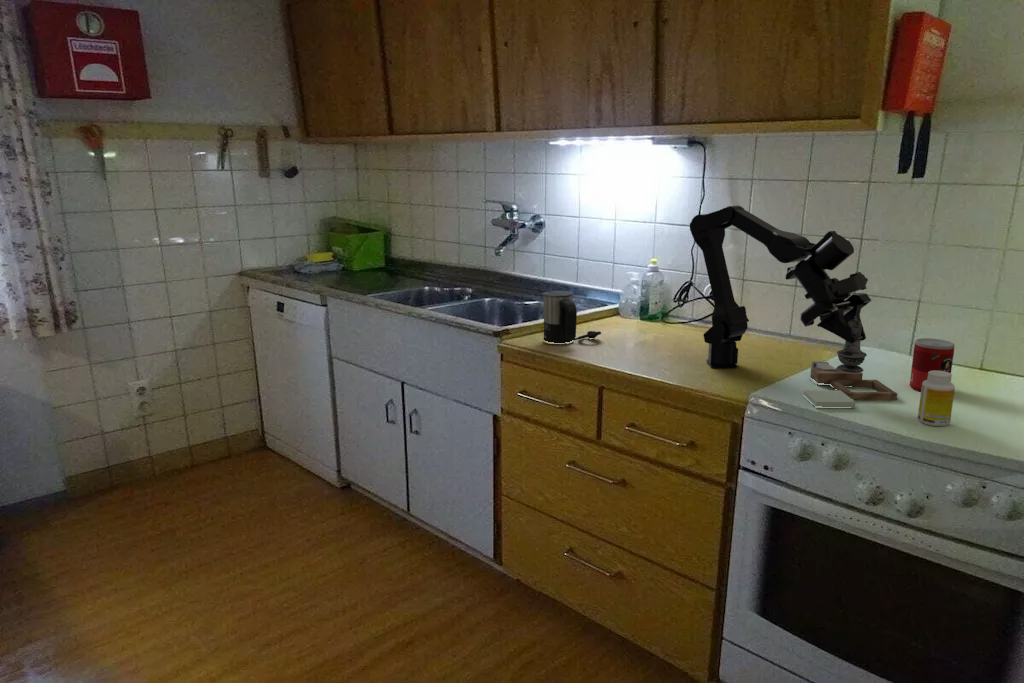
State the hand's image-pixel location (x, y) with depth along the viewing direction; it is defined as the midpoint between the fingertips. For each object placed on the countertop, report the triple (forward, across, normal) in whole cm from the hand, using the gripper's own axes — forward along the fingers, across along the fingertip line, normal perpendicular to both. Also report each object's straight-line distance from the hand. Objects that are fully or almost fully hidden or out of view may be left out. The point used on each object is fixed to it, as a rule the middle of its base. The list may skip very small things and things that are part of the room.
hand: (859, 340), depth 152 cm
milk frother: (-46, -14, +66) cm, 82 cm away
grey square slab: (+8, -6, +11) cm, 15 cm away
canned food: (+14, +21, +5) cm, 25 cm away
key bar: (0, +10, +19) cm, 21 cm away
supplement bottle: (+22, -1, -3) cm, 22 cm away
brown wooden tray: (+7, +7, +12) cm, 15 cm away
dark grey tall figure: (+4, 0, +6) cm, 7 cm away
